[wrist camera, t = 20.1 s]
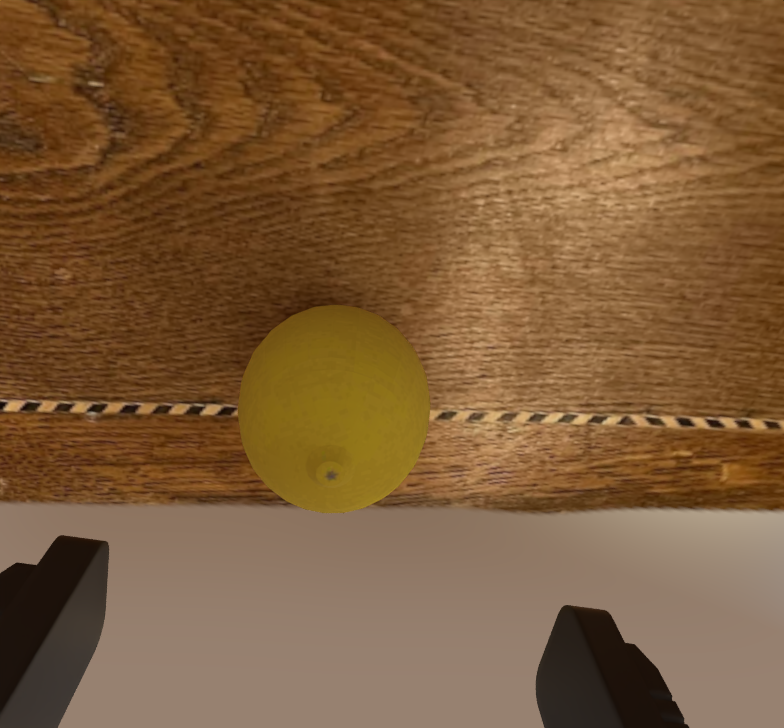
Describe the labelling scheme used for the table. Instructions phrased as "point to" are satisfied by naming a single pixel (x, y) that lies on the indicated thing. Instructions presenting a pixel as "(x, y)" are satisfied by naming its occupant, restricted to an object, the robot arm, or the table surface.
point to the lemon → (333, 409)
